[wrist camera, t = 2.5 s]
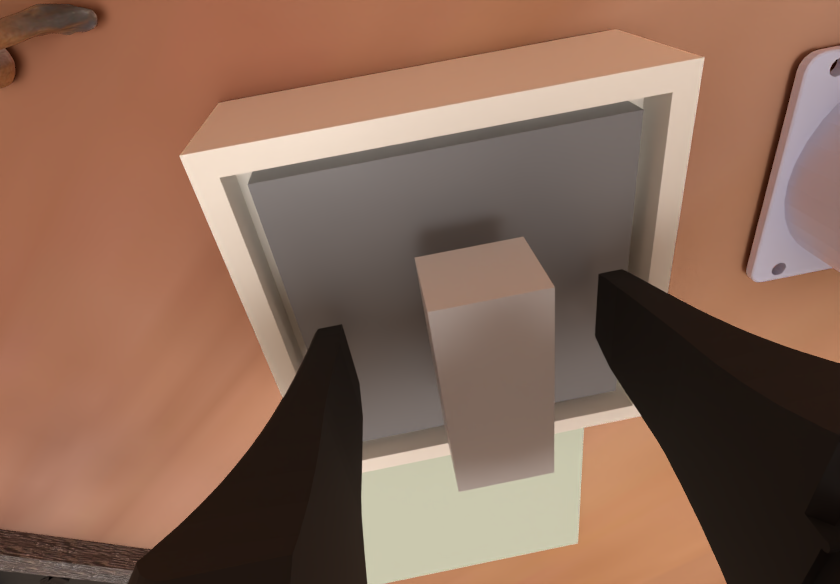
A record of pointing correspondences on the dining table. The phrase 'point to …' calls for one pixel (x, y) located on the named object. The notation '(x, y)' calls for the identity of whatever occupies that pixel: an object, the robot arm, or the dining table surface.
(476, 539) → the sage mat
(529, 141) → the grey cover
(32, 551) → the picture frame
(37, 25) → the lion figurine
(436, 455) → the tray
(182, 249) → the dining table surface
